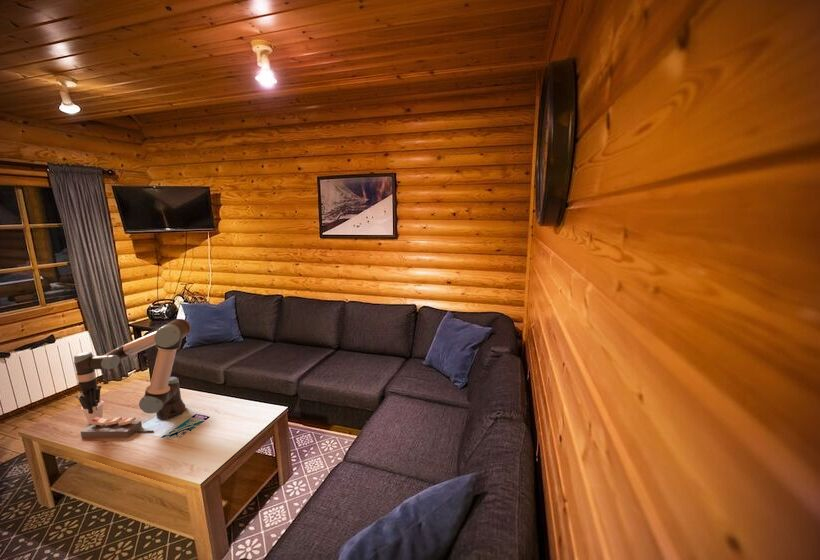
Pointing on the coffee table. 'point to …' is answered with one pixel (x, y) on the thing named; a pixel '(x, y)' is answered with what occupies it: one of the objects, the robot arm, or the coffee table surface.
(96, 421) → the rocker
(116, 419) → the rocker
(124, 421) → the rocker
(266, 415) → the coffee table surface
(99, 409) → the cup
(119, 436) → the power strip
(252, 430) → the coffee table surface
